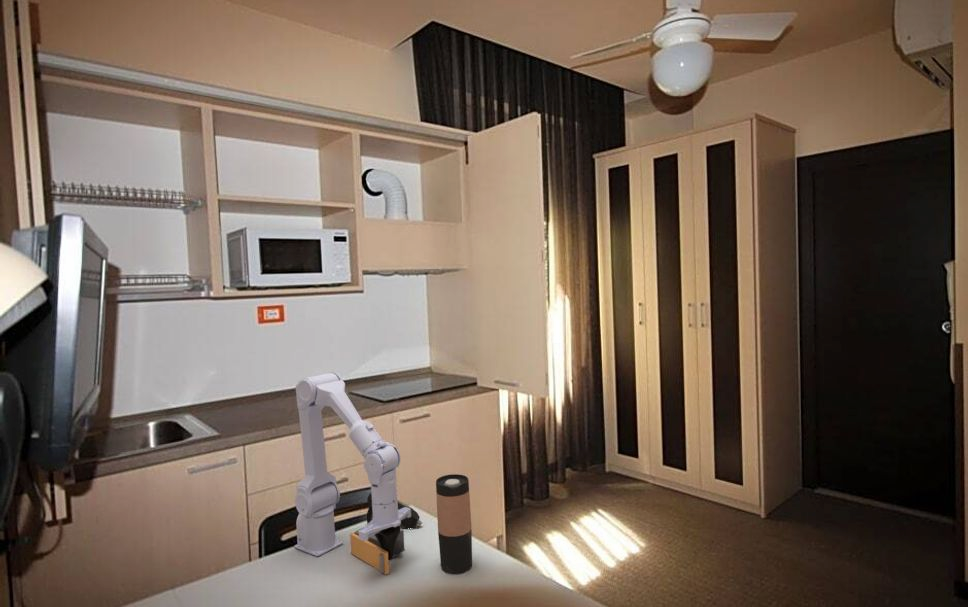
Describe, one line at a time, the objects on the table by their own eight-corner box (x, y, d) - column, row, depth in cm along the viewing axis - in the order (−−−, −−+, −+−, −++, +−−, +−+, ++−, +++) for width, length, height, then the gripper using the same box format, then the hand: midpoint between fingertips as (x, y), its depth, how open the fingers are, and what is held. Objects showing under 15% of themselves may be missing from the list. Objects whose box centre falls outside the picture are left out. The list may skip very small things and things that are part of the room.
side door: (348, 553, 132) (347, 534, 132) (353, 551, 133) (352, 532, 132) (383, 575, 121) (382, 554, 120) (389, 573, 122) (387, 552, 121)
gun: (408, 550, 144) (423, 518, 143) (356, 520, 147) (370, 488, 146) (412, 545, 147) (426, 513, 146) (361, 516, 150) (375, 485, 148)
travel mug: (454, 554, 129) (449, 472, 128) (480, 563, 124) (475, 477, 124) (433, 569, 123) (428, 482, 122) (459, 578, 118) (454, 488, 118)
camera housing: (355, 552, 133) (353, 529, 132) (376, 540, 138) (375, 519, 138) (388, 564, 126) (387, 540, 126) (409, 551, 132) (408, 529, 131)
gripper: (373, 515, 115) (376, 578, 115) (419, 492, 127) (422, 549, 127) (350, 509, 119) (354, 569, 119) (397, 487, 131) (400, 542, 131)
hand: (388, 558), depth 123 cm, fingers closed
